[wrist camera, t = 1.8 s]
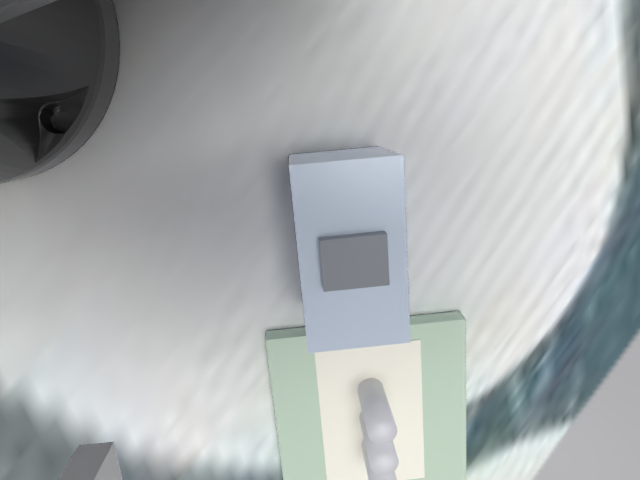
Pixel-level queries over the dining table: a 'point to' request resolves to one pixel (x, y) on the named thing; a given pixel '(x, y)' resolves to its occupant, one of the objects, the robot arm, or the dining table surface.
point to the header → (373, 405)
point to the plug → (351, 247)
